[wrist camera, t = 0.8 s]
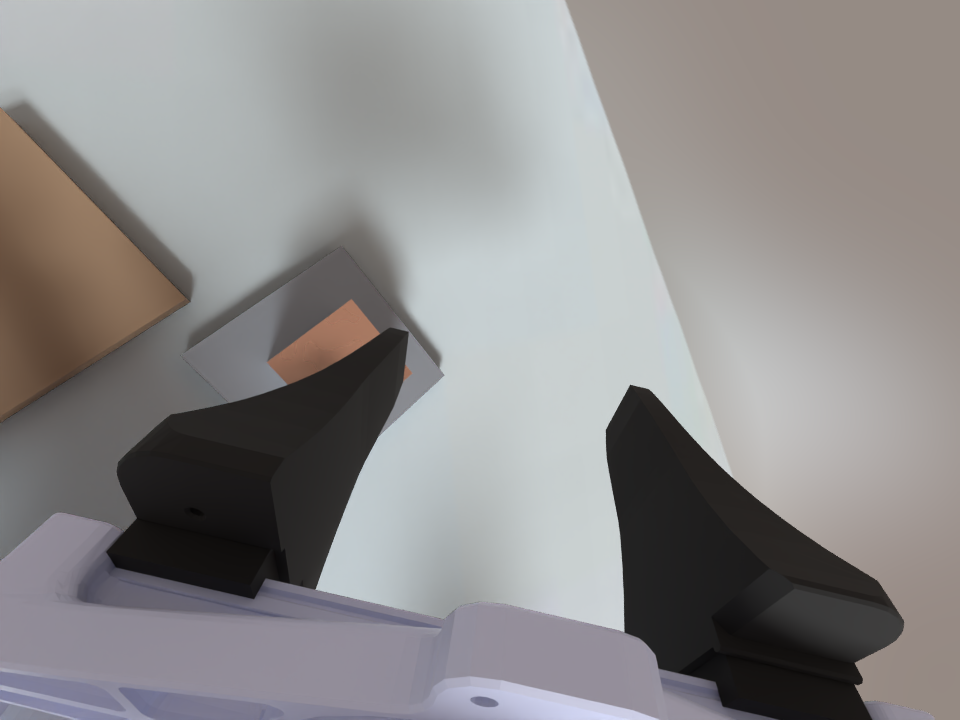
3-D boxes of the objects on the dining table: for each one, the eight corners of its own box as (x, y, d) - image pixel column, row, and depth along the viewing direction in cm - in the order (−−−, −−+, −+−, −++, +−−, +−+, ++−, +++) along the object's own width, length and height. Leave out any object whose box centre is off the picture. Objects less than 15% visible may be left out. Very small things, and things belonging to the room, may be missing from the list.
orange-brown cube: (325, 423, 23) (339, 438, 19) (267, 362, 22) (266, 362, 17) (386, 370, 25) (412, 373, 20) (335, 310, 23) (351, 298, 19)
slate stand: (317, 485, 24) (319, 491, 23) (184, 355, 21) (180, 355, 20) (437, 374, 28) (444, 375, 27) (338, 250, 25) (341, 245, 24)
